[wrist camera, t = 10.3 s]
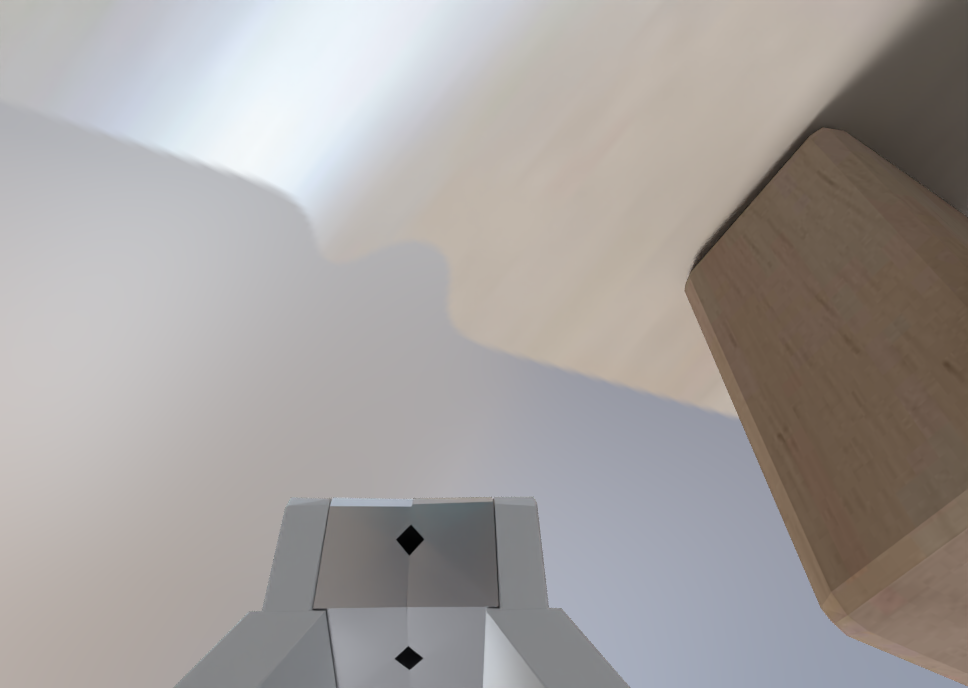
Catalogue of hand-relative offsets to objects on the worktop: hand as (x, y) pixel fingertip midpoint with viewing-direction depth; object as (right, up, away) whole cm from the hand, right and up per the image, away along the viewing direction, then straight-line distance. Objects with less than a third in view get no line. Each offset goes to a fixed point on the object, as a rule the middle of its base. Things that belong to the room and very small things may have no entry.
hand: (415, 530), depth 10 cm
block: (+17, +7, +29) cm, 35 cm away
